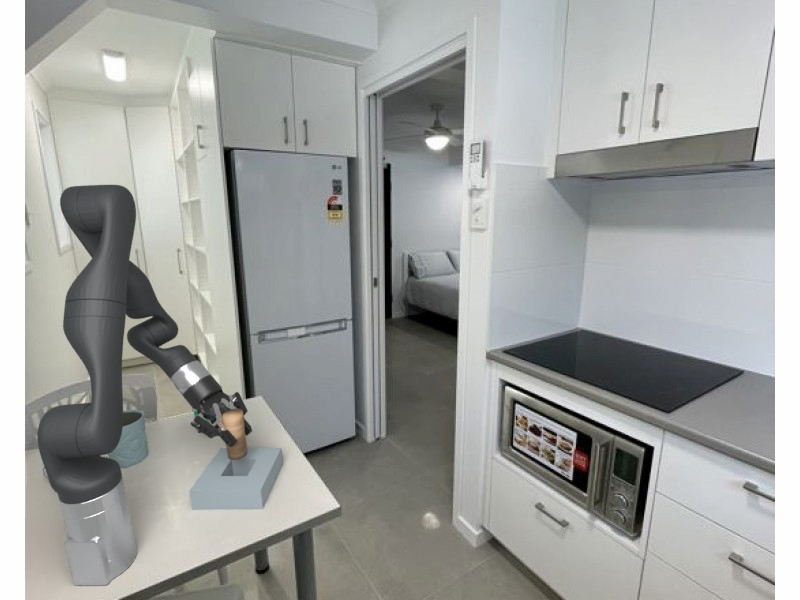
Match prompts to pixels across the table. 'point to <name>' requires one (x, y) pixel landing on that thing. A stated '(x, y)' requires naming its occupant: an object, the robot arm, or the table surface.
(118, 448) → the teal plant pot
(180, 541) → the table surface
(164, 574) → the table surface
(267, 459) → the socket block
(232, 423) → the peg
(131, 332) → the robot arm
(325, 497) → the table surface
